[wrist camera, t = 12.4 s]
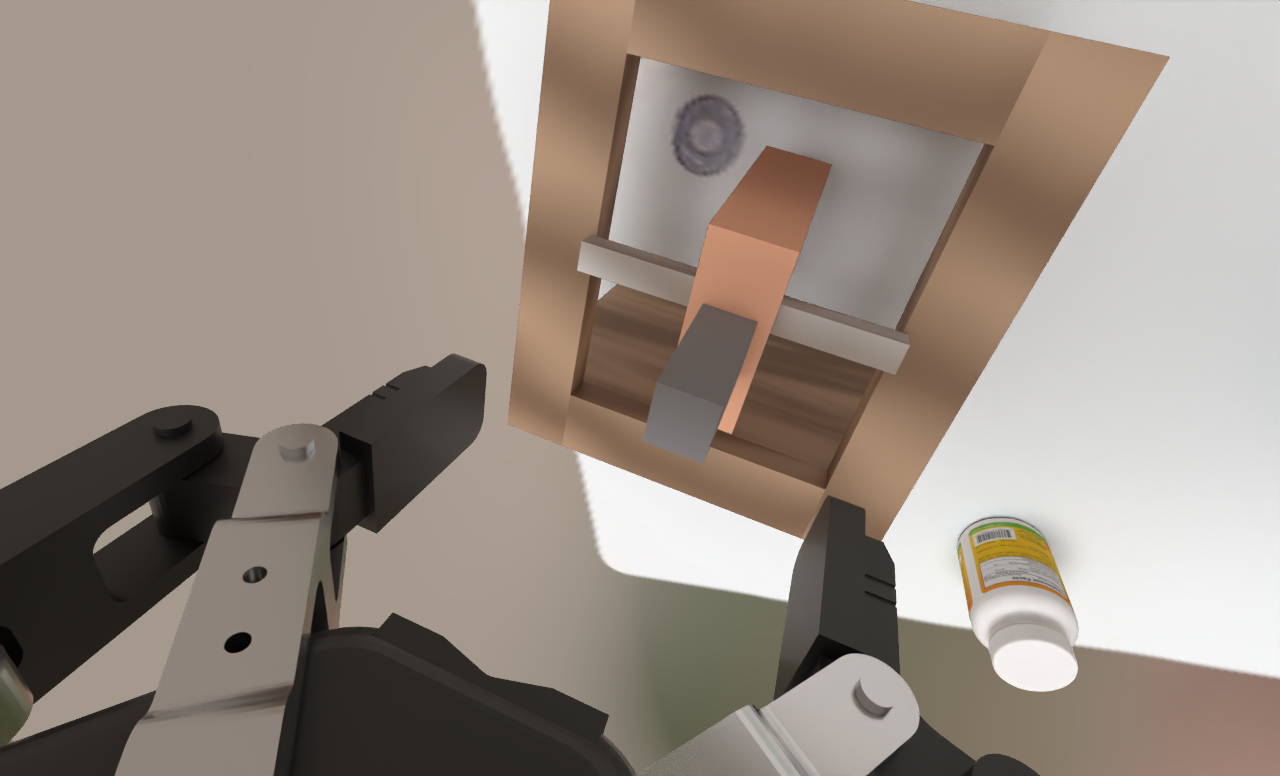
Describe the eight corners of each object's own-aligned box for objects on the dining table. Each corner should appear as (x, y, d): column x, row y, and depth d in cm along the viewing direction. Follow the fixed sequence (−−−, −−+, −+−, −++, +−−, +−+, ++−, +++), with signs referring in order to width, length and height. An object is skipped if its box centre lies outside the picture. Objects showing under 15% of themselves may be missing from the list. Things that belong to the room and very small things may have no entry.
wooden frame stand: (681, -17, 31) (542, -82, 18) (1034, 63, 28) (1187, 56, 15) (615, 318, 42) (497, 434, 28) (867, 404, 39) (867, 580, 25)
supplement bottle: (1014, 588, 41) (1050, 715, 33) (940, 554, 42) (957, 670, 34) (1066, 538, 38) (1120, 664, 30) (986, 502, 39) (1017, 615, 31)
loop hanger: (766, 145, 26) (658, 291, 15) (832, 164, 26) (771, 330, 14) (721, 297, 32) (615, 493, 20) (775, 315, 31) (697, 526, 20)
